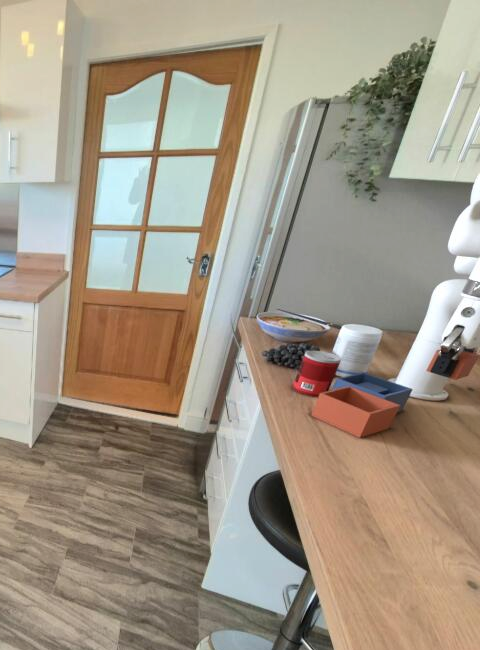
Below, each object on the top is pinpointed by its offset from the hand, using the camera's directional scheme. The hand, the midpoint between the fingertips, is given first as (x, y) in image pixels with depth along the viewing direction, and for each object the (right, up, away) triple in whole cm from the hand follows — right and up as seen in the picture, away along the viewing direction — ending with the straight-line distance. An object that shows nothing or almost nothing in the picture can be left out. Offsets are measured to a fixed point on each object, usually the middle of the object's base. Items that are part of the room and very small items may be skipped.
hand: (447, 371), depth 94 cm
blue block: (+1, -8, +21) cm, 22 cm away
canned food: (-7, -5, +29) cm, 30 cm away
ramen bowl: (+14, +14, +67) cm, 69 cm away
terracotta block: (0, 0, 0) cm, 0 cm away
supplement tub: (+12, 0, +39) cm, 41 cm away
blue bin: (+1, -9, +21) cm, 23 cm away
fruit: (-2, +3, +45) cm, 45 cm away
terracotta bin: (-10, -12, +14) cm, 21 cm away
